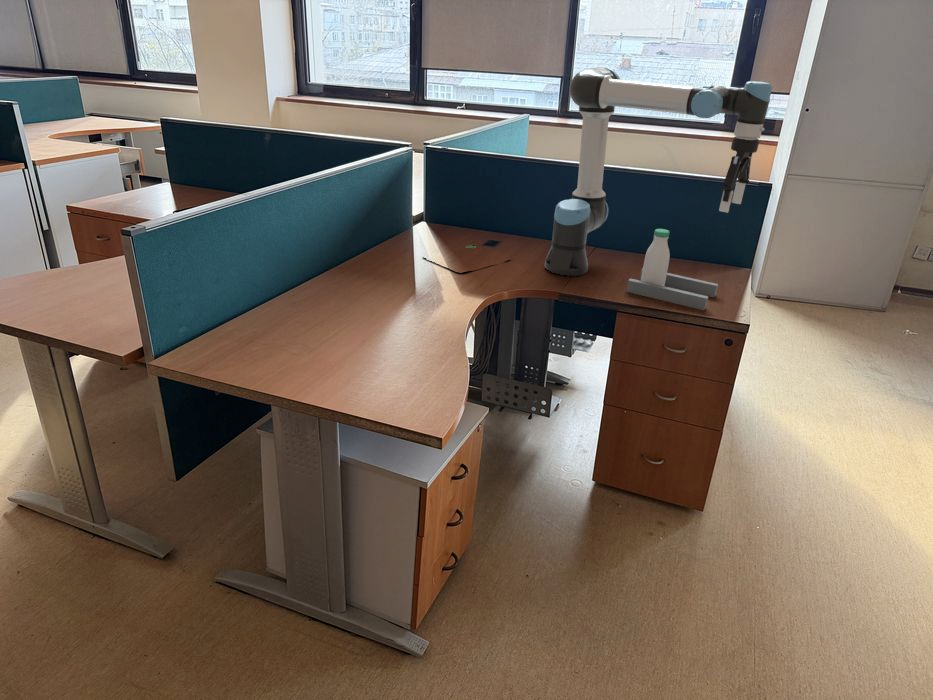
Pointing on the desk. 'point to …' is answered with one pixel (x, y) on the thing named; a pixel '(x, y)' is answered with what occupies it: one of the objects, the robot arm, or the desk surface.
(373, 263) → the desk surface
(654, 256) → the milk bottle
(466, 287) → the desk surface
